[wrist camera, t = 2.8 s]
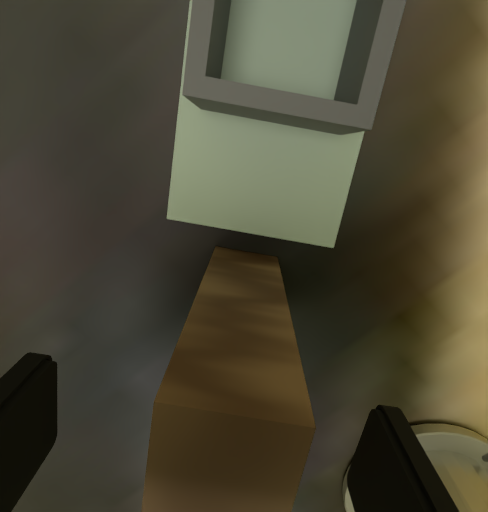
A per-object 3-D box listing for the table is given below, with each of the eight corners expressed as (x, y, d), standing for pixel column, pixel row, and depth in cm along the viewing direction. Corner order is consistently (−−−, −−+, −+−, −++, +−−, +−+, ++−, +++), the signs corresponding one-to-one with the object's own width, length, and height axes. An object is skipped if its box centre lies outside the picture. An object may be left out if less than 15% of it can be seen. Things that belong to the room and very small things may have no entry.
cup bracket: (416, -95, 16) (510, -237, 10) (329, 242, 21) (358, 278, 15) (210, -138, 16) (184, -307, 10) (171, 215, 21) (139, 240, 15)
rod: (277, 256, 22) (315, 428, 8) (265, 312, 23) (282, 541, 9) (215, 246, 22) (153, 401, 8) (206, 302, 23) (140, 519, 9)
